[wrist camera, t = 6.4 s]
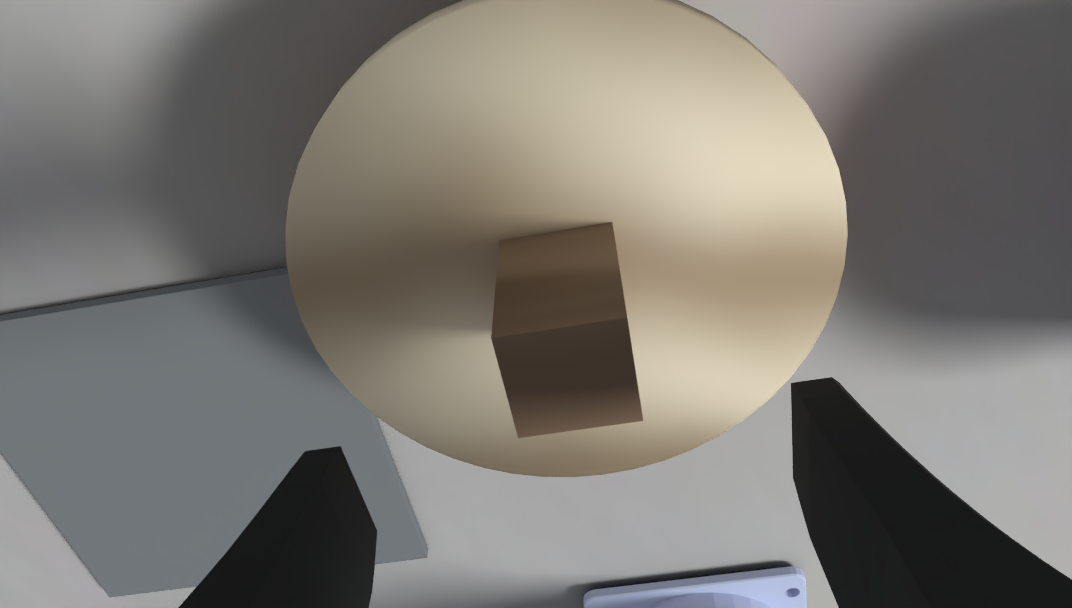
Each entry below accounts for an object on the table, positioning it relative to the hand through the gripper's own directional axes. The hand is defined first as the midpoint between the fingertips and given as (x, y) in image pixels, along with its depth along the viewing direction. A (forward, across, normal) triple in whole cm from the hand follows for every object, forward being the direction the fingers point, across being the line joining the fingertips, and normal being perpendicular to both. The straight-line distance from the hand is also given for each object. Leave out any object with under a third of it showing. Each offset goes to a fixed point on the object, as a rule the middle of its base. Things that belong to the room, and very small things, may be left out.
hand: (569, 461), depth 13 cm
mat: (+10, +13, +7) cm, 18 cm away
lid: (+6, 0, 0) cm, 6 cm away
